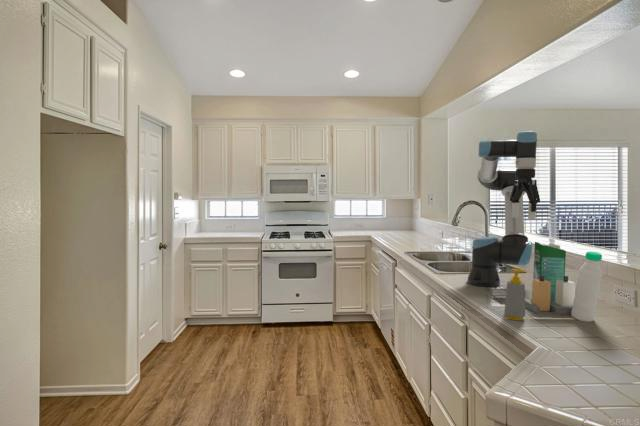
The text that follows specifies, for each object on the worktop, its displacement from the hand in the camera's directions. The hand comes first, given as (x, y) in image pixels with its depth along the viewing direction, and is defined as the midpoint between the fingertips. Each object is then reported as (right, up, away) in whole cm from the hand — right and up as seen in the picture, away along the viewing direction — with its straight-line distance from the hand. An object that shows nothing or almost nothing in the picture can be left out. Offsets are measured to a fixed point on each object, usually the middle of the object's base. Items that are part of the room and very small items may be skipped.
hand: (523, 218), depth 165 cm
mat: (-9, -35, -4) cm, 36 cm away
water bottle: (+9, -36, -24) cm, 44 cm away
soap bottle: (-16, -36, -24) cm, 46 cm away
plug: (-2, -35, -16) cm, 38 cm away
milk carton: (+9, -35, -3) cm, 36 cm away
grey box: (+5, -36, -16) cm, 39 cm away
